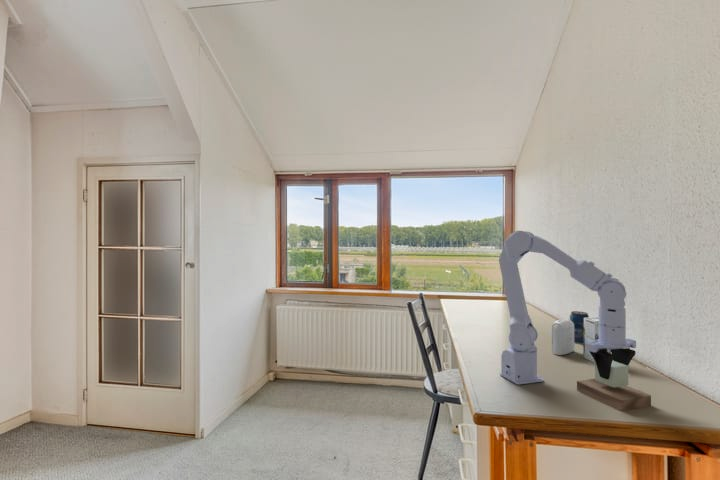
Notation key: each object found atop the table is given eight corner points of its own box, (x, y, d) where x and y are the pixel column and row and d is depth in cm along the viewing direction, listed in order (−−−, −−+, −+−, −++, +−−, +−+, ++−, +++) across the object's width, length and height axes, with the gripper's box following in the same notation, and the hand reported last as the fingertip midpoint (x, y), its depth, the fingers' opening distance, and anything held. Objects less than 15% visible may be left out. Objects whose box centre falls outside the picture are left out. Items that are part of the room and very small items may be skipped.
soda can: (568, 342, 140) (568, 312, 140) (571, 338, 145) (571, 310, 145) (588, 345, 135) (588, 315, 135) (590, 341, 140) (590, 312, 141)
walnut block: (621, 412, 82) (621, 400, 82) (576, 392, 94) (576, 381, 94) (651, 407, 85) (650, 395, 85) (604, 387, 97) (604, 377, 97)
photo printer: (564, 348, 131) (564, 316, 131) (576, 351, 127) (576, 318, 128) (550, 353, 125) (549, 319, 126) (562, 356, 122) (562, 322, 122)
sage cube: (613, 387, 87) (613, 367, 87) (595, 379, 91) (595, 361, 92) (628, 385, 88) (628, 365, 88) (609, 377, 93) (609, 359, 93)
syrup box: (598, 357, 121) (598, 316, 121) (611, 363, 115) (611, 320, 115) (583, 357, 121) (582, 316, 121) (595, 363, 115) (594, 320, 115)
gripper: (605, 330, 84) (605, 386, 84) (648, 326, 88) (648, 379, 88) (579, 324, 91) (580, 375, 90) (620, 320, 95) (621, 369, 94)
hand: (612, 376), depth 90 cm, fingers closed on sage cube, 5 cm apart
